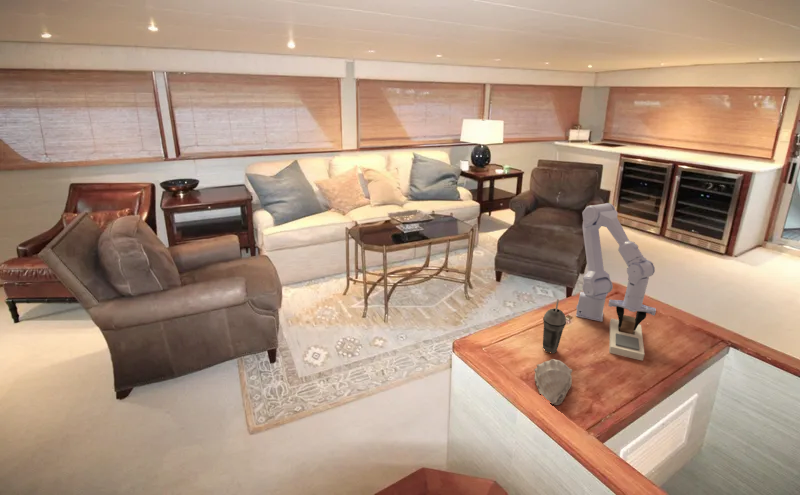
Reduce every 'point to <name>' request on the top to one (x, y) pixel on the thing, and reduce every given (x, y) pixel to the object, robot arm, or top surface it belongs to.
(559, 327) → the beverage cup
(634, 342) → the slate mat
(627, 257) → the robot arm
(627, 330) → the walnut block
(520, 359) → the top surface
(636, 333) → the pocket board
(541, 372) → the seashell
